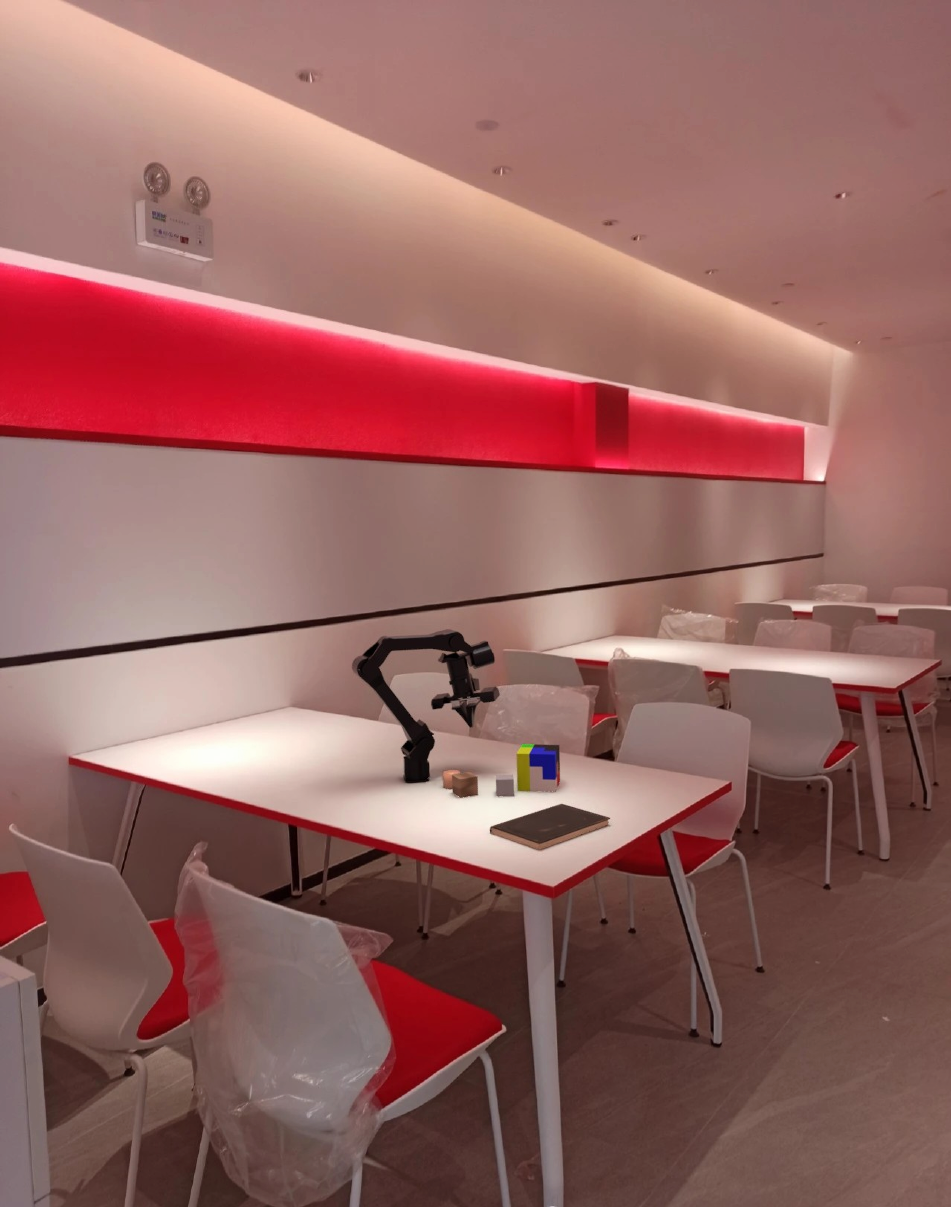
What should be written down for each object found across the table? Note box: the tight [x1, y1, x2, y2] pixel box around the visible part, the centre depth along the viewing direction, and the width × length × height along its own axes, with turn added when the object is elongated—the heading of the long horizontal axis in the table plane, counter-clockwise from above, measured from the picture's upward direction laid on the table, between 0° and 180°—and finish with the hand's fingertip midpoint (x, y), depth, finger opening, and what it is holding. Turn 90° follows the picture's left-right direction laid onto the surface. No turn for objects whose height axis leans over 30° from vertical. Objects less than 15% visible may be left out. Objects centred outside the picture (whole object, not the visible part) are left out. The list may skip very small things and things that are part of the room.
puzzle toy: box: [516, 743, 561, 793], centre depth 249 cm, size 10×10×10 cm
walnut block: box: [451, 771, 479, 799], centre depth 244 cm, size 5×5×5 cm
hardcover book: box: [489, 803, 611, 850], centre depth 216 cm, size 16×23×2 cm
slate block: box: [495, 774, 515, 797], centre depth 244 cm, size 4×4×4 cm
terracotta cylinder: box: [442, 769, 460, 790], centre depth 251 cm, size 4×4×4 cm
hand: (471, 727), depth 264 cm, fingers closed
